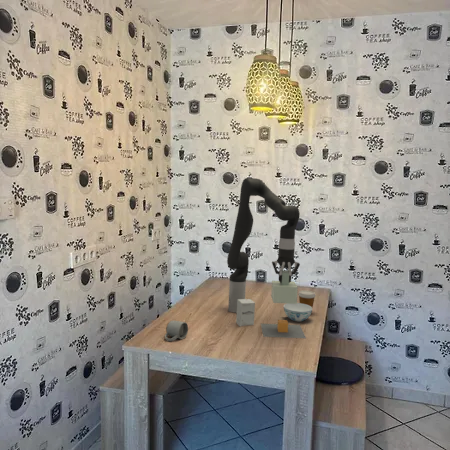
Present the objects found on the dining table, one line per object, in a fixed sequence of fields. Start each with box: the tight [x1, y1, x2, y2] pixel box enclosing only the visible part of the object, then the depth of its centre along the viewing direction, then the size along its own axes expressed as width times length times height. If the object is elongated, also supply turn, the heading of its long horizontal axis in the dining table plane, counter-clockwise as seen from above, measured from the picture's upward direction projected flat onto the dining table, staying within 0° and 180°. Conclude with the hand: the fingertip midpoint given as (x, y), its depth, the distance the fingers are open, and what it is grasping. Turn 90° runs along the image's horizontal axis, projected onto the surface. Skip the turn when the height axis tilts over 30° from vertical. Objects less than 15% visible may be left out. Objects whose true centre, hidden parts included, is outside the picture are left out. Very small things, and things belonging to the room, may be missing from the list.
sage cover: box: [270, 270, 299, 304], centre depth 209 cm, size 11×11×14 cm
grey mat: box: [260, 323, 307, 339], centre depth 212 cm, size 20×18×1 cm
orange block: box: [277, 319, 289, 332], centre depth 212 cm, size 4×4×4 cm
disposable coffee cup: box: [297, 289, 316, 316], centre depth 243 cm, size 10×10×12 cm
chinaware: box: [283, 302, 313, 323], centre depth 229 cm, size 15×15×8 cm
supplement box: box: [235, 298, 256, 327], centre depth 220 cm, size 7×7×13 cm
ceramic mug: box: [164, 320, 189, 342], centre depth 199 cm, size 11×8×8 cm
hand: (284, 282), depth 209 cm, fingers closed on sage cover, 3 cm apart
